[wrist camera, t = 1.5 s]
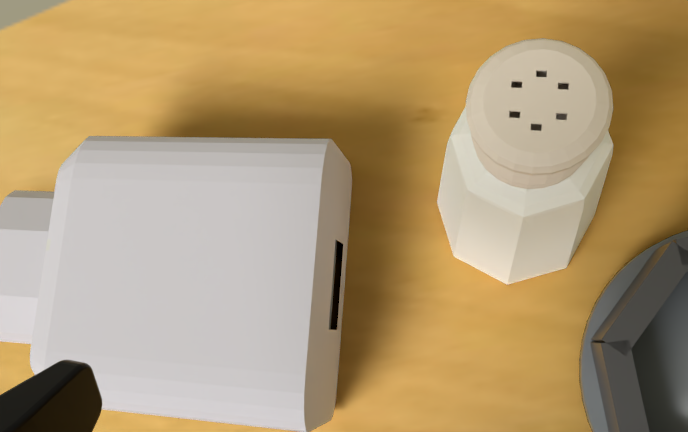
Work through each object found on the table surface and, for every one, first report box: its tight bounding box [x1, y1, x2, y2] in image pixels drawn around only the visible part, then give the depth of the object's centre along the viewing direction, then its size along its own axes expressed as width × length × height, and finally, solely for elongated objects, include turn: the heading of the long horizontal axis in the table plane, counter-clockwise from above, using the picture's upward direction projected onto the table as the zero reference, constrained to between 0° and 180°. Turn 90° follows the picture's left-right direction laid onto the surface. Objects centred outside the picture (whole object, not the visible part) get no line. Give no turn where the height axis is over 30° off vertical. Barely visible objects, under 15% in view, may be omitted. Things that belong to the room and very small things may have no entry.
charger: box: [0, 136, 352, 432], centre depth 24 cm, size 5×9×15 cm
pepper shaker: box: [437, 38, 613, 285], centre depth 18 cm, size 5×5×11 cm
